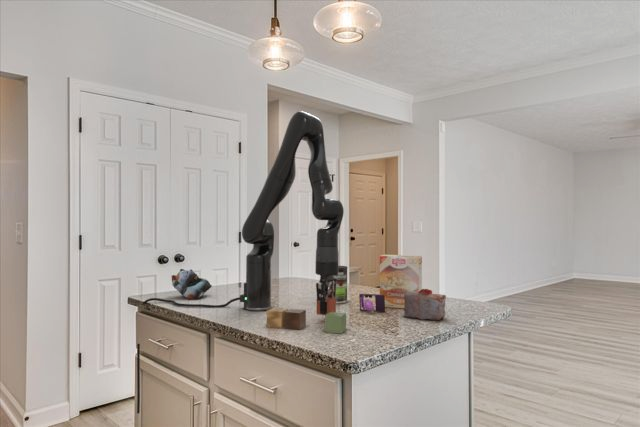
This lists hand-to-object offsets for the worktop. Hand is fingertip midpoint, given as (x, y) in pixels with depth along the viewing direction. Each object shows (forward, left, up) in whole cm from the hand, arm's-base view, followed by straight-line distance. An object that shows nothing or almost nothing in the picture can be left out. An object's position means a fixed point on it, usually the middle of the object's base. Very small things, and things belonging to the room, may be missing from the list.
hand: (326, 311), depth 146 cm
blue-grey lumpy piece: (-68, +22, -3) cm, 72 cm away
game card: (+11, +18, -3) cm, 21 cm away
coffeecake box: (+19, +32, -3) cm, 38 cm away
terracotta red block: (0, 0, -1) cm, 1 cm away
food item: (+30, +15, -3) cm, 34 cm away
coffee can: (-8, +34, -3) cm, 35 cm away
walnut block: (-6, -12, -3) cm, 14 cm away
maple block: (-12, -12, -3) cm, 17 cm away
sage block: (+7, -12, -3) cm, 14 cm away
